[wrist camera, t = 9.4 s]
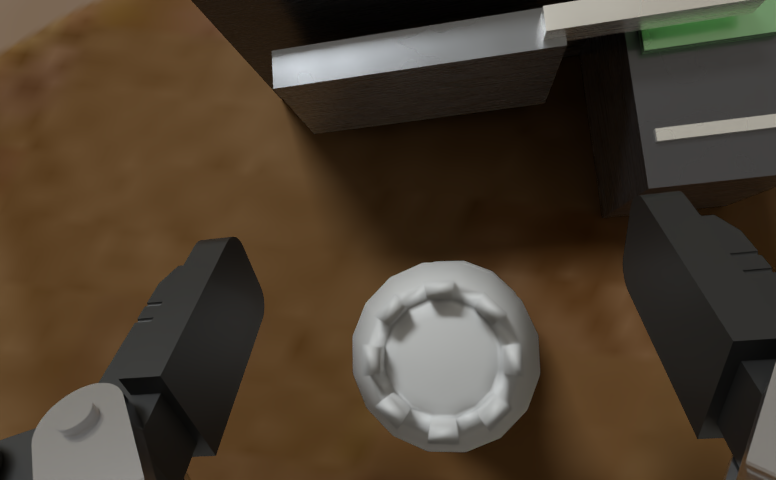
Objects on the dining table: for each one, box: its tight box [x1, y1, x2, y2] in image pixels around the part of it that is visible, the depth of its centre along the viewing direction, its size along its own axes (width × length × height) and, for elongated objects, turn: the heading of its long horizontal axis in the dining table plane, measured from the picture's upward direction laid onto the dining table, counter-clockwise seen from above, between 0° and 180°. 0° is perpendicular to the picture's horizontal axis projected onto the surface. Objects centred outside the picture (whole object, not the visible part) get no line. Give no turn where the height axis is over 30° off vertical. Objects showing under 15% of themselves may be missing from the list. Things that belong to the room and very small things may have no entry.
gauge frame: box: [192, 0, 776, 218], centre depth 13 cm, size 14×8×6 cm, turn 94°
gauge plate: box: [272, 0, 765, 134], centre depth 13 cm, size 11×1×4 cm, turn 94°
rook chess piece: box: [353, 261, 540, 452], centre depth 12 cm, size 4×4×8 cm
